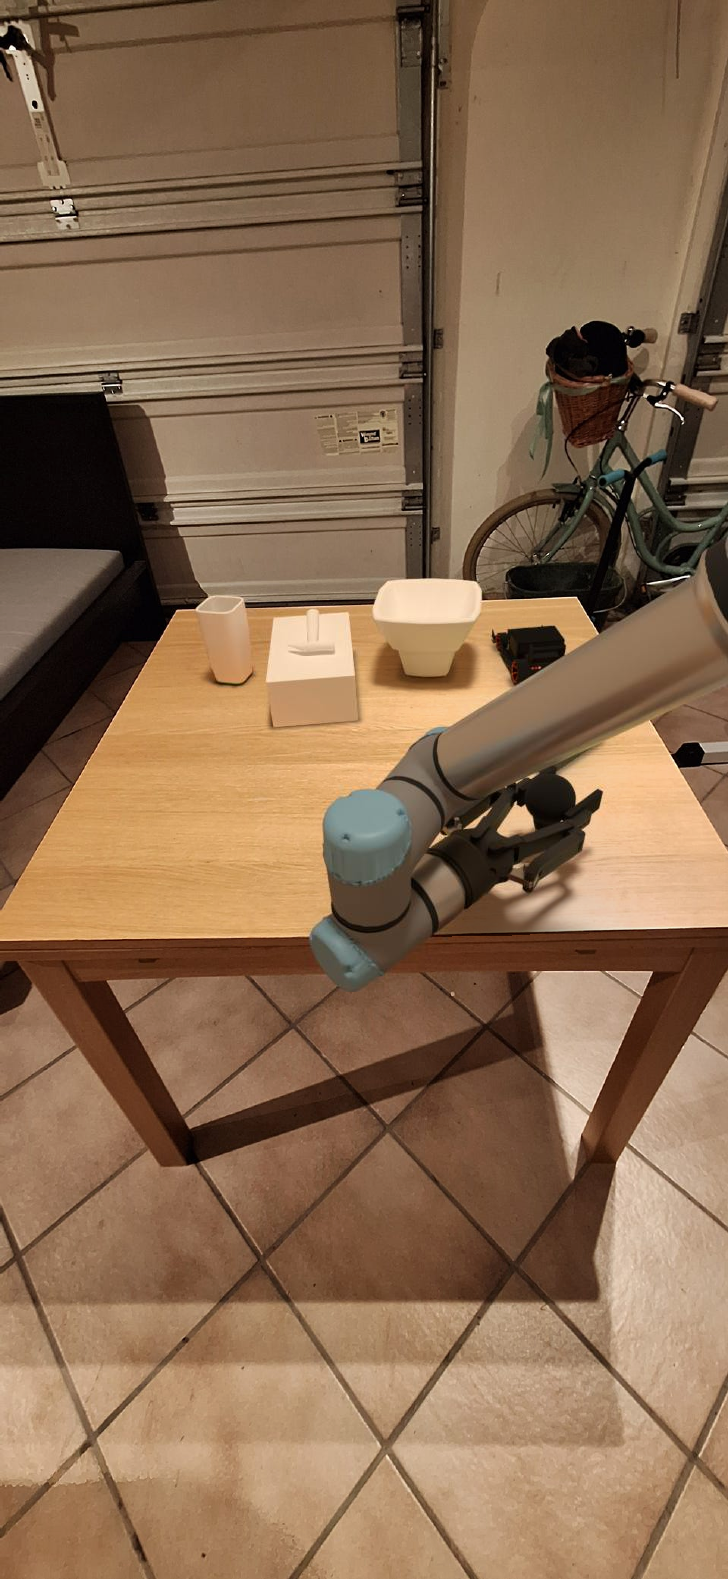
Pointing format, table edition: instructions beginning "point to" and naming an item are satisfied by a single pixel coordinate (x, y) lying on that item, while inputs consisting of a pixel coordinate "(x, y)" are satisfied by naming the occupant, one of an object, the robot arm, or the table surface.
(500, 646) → the toy truck
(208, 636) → the cup
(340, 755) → the table surface
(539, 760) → the robot arm
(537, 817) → the light bulb
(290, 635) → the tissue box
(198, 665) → the table surface
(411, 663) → the bowl
